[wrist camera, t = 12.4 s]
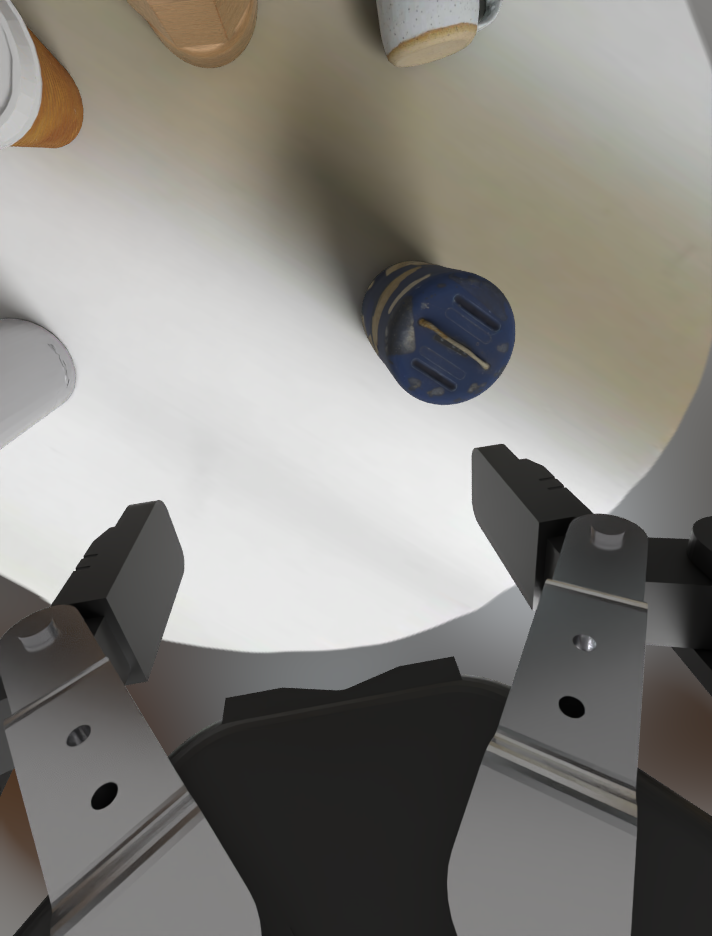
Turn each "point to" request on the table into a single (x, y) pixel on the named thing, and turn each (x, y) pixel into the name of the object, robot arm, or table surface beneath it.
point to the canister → (439, 330)
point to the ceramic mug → (430, 28)
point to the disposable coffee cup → (33, 89)
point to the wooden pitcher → (201, 27)
